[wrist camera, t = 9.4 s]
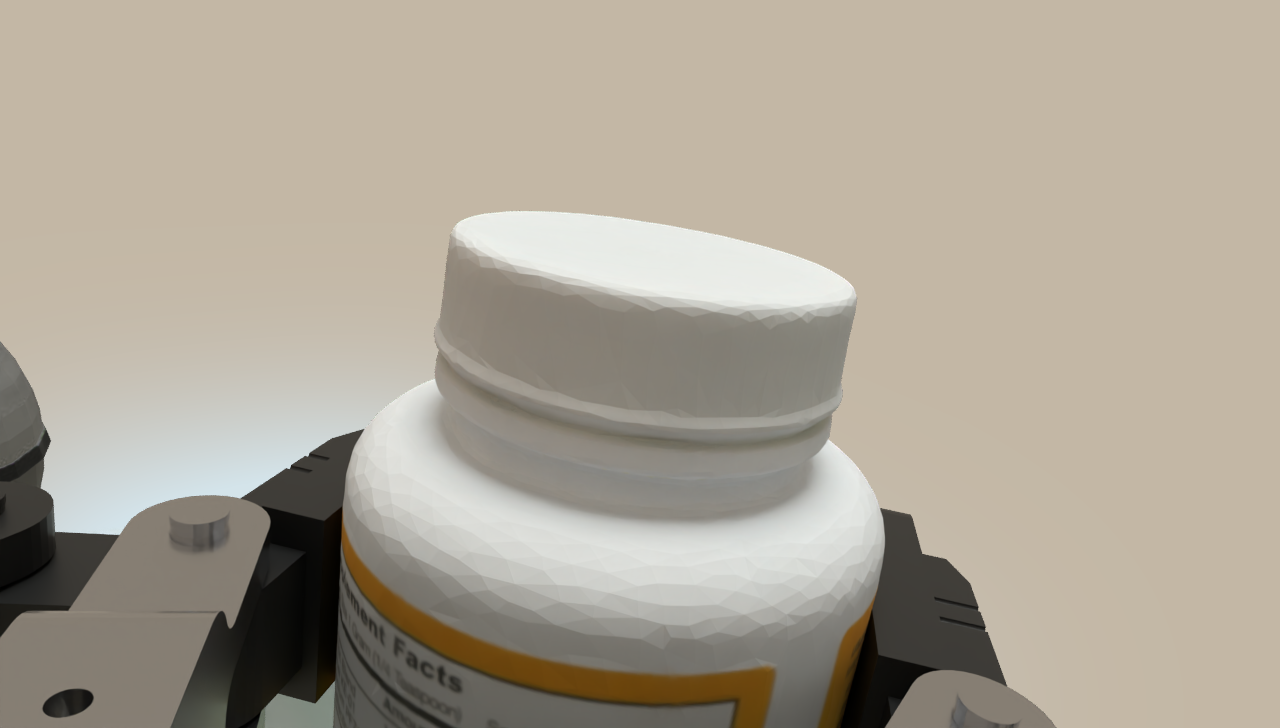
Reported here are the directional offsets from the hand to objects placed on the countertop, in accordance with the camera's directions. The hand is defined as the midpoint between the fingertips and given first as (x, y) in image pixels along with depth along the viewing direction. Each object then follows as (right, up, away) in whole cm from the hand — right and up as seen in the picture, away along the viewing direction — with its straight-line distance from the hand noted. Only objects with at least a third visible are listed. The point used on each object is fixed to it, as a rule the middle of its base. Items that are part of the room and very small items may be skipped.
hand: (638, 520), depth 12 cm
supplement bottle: (-1, -7, -1) cm, 7 cm away
